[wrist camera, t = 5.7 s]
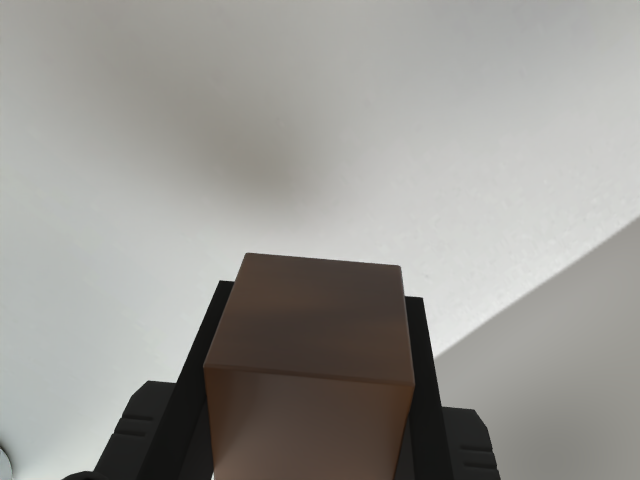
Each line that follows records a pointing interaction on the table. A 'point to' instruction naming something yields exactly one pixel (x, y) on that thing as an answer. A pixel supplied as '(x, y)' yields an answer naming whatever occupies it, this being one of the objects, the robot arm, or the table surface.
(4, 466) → the mug
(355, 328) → the block
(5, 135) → the table surface
